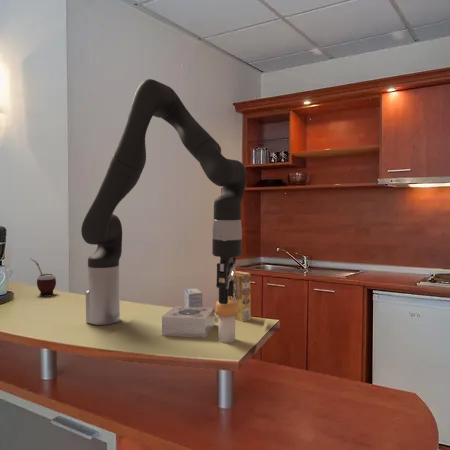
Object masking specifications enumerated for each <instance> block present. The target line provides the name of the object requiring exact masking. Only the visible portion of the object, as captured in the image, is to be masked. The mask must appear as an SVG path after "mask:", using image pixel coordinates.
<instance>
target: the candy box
mask: <svg viewBox="0 0 450 450" xmlns="http://www.w3.org/2000/svg"><path fill="white" fill-rule="evenodd" d="M234 279H235V281H234V294H233V296H228V300H235V301H238V315H236V316H235V321H237V322H238V321H239V322H246V321H249V320H250V321H251V319H252V315H251V314H252V313H251V312H252V311H251V300H252V299H251V273H250V272H245V271H239V270H236V277H235V278H234ZM221 283H225V281H222V282H221Z"/></svg>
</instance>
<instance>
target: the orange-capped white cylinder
mask: <svg viewBox="0 0 450 450" xmlns="http://www.w3.org/2000/svg"><path fill="white" fill-rule="evenodd" d="M215 315H216V316H218V317H217V318H218V321H217V322H218V333H217V334H218V336H217V337H218V342H220V343H222V344H232V343H234V342H235V341H236V320H235V316H236V315H238V301H235V300H228V303H227V304H220V303H219V299H218V300H216V301H215Z"/></svg>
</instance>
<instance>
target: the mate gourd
mask: <svg viewBox="0 0 450 450" xmlns="http://www.w3.org/2000/svg"><path fill="white" fill-rule="evenodd" d="M29 260H31V261H33V262H34V263H35V265H36V266H37V268H38V270H39V273H40V274H39V275H38V277H37V278H36V285H37V289H38V290H39V292H40V293H39V296H40V297H45V295H46V296H49V295H53V296H54V290H55V288H56V285H57V280H56V276H55V275H54V274H53V273H43V272H42V269H41V268H40V264H39V263H38V261H36V260H35V259H33V258H31V257H30V258H29ZM40 294H41V295H40Z"/></svg>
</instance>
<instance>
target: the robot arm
mask: <svg viewBox="0 0 450 450" xmlns="http://www.w3.org/2000/svg"><path fill="white" fill-rule="evenodd" d="M127 116H128V117H127V119H126V123H125V126H124V128H123V130H122V134H121V136H120V139H119V142H118V144H117V147H116V149H115V151H114V153H113V156H112V157H111V161H110V162H109V165H108V168H107V171H106V174H105V176H104V179H103V181H102V182H101V185H100V188H99V189H98V192H97V194H96V196H95V199H94V200H93V202H92V204H91V206H90V207H89V209H88V211H87V213H86V215H85V217H84V219H83V221H82V224H81V231H80V233H81V237H82V239H83V241H84V242H86V244H88V245H93V246H94V245H97V247H96V249H95V251H94V252H93V253H92V254H91V255H90V256H88V259H87V280H88V281H87V282H88V283H87V286H88V287H87V288H88V290H86V291H85V323H86V324H87V323H88V324H90V325H96V326H97V325H98V326H102V325H110V324H111V325H112V324H115V323H116V324H117V322H118V323H119V321H120V319H121V317H120V316H121V312H120V308H121V307H120V303H121V302H120V258H121V256H122V252H123V251H122V250H123V226H122V223H121V220H120V217H119V216H117V215H116V214H114V212H115V209H116V208H117V207H118V205H119V204H120V203H121V202H122V200H124V198H125V197H127V195H128V194H129V193H130V192H131V191H132V190H133V189H134V188H135V187H136V185H137V184H138V181H139V179H140V177H141V175H142V173H143V170H144V168H145V166H146V162H147V151H146V150H147V149H146V148H147V146H146V135H147V130H148V129H149V125H150V123H151V120H152V118H153V117H156V118H160V119H162V120H163V121H165V122H166V123H168V124H169V125H170V126H172V127H173V129H174V130H175V131H176V132H177V134H178V135H179V138H180V141H181V143H182V145H183V146H184V147H185V149H186V150H187V152H189V153H190V155H192V157H193V158H194V159H195V160H196V161H198V163H199V164H200V166H201V168H202V171H203V173H204V174H205V175H206V177H207V178H208V180H209V181H210V182H211V183H212V184H214V185H215V186H218V187H222V190H221V194H220V196H218V197H216V198H215V199H214V202H213V224H212V241H211V242H212V243H211V245H212V248H211V249H212V250H211V251H212V255H213V256H214V257H217V258H218V257H219V258H220V259H219V262H218V263H217V264H216V288H217V289H218V300H219V303H220V304H227V303H228V296H233V294H234V281H235V279H234V278H235V277H236V271H237V270H236V260H237V257H241V256H242V248H243V247H242V246H243V245H242V244H243V243H242V241H243V240H242V239H243V238H242V237H243V229H242V228H243V227H242V202H243V198H244V194H245V189H246V186H247V185H246V184H247V169H246V166H244V164H243V162H241V161H239V160H235V159H231V158H230V159H229V158H227V157H225V156H223V154H222V148H221V146H220V144H219V143H218V141H216V139H214V137H212V136H211V134H210V133H209V132H208V131H206V129H205V128H204V127H202V125H201V124H200V123H199V122H198V121H197V120H196V119H195V118H194V116H192V114H191V113H190V112H189V110H188V109H187V108H186V107H185V105H184V103H183V102H182V100H181V98H180V97H179V95H178V94H177V93H176V91H175V90H174V89H173V88H172V87H170V86H169V85H166V84H165V83H163V82H159V81H157V80H155V79H152V78H148V79H145V80H143V81H141V83H140V84H139V86H138V87H137V89H136V91H135V93H134V96H133V99H132V103H131V106H130V109H129V112H128V115H127ZM222 281H225V283H222Z"/></svg>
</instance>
